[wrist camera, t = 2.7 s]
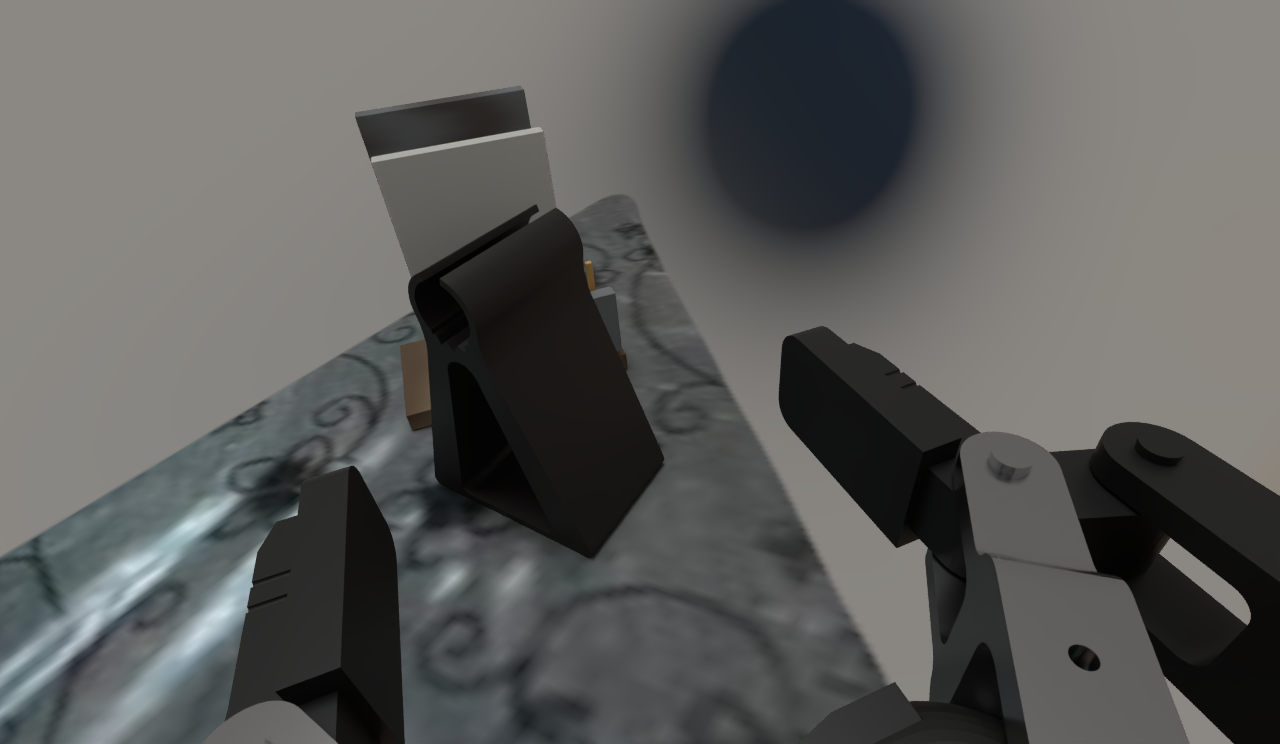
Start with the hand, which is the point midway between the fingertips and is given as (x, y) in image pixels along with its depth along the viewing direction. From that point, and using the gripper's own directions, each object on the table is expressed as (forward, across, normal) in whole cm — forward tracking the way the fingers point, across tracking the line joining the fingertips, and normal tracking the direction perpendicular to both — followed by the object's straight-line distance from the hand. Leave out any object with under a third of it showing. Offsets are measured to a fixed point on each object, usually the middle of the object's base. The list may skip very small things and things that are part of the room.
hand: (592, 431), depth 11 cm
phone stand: (+12, 0, +13) cm, 18 cm away
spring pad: (+19, -1, +11) cm, 22 cm away
